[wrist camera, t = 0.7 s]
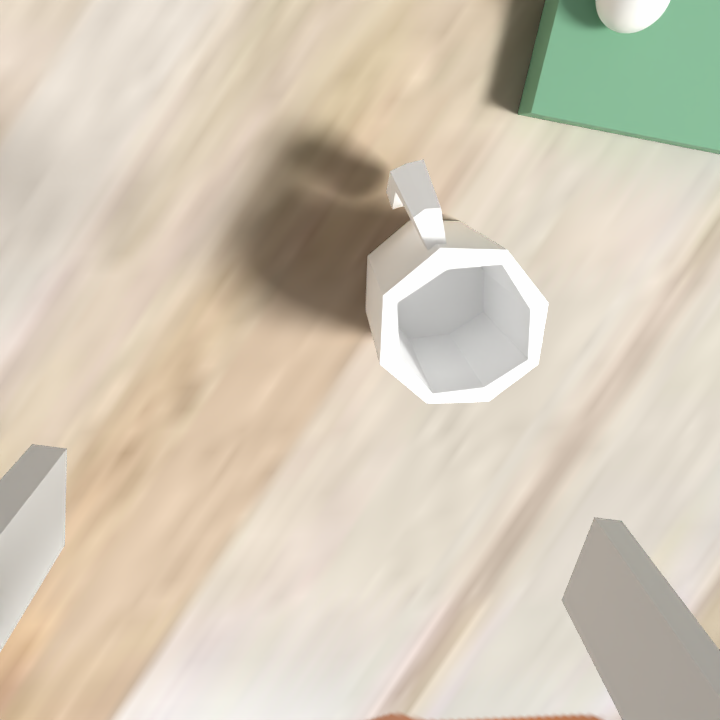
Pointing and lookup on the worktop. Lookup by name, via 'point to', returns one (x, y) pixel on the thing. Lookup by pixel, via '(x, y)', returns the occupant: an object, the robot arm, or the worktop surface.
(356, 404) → the worktop surface
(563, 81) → the putting strip
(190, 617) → the worktop surface
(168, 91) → the worktop surface
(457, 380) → the mug
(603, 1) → the ball
